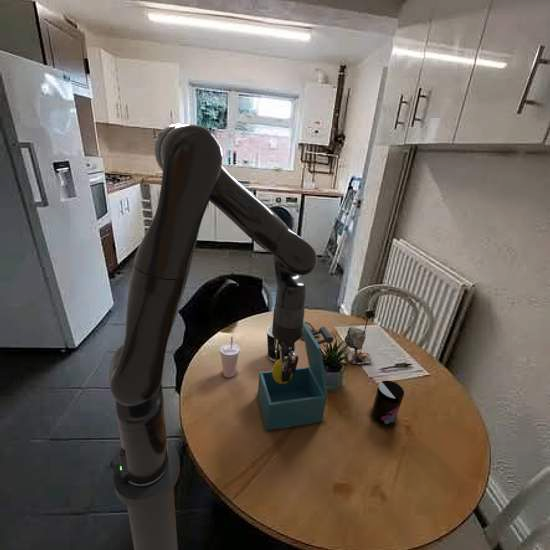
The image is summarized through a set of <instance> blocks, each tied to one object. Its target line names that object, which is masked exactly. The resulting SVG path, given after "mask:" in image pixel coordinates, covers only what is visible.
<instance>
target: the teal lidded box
mask: <svg viewBox="0 0 550 550" xmlns="http://www.w3.org/2000/svg"><path fill="white" fill-rule="evenodd" d="M257 385H258V386H257V398H258V402H259V405H260V409H261V413H262V417H263V420H264V425H265V428H266V429H265V430H266V431H271V430H278V429H285V428H290V427H291V428H292V427H297V426H304V425H311V424H316V423H322V421H323V417H324V412H325V408H326V402H327V396H325V395H324V393H323V391H322V389H321V387H320V385H319V384H318V382H317V380H316V378H315V376H314V374H313V372H312V370H311V368H310V366H309V365H308V366H301V367H296V371H295V373H294V374H293V375H292V378H291V380H290V381H289V382H287V383H285V384H279V383H277V382H276V381H275V380H274V378H273V375H272V370H265V371H259V372H258V383H257Z"/></svg>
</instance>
